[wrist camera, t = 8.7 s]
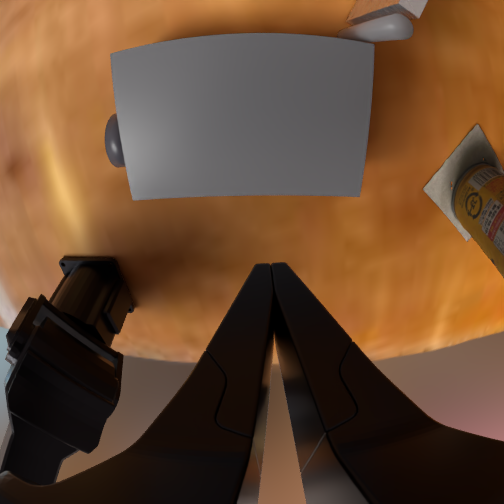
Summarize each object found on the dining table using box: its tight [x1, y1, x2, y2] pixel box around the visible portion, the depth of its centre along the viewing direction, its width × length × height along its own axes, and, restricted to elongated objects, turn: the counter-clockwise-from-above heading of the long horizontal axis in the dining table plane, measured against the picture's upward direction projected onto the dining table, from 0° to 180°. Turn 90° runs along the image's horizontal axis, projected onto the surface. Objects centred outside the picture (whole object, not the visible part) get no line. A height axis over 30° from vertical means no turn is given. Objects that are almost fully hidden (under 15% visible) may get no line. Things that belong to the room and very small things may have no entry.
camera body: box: [105, 14, 413, 200], centre depth 12 cm, size 14×9×7 cm
